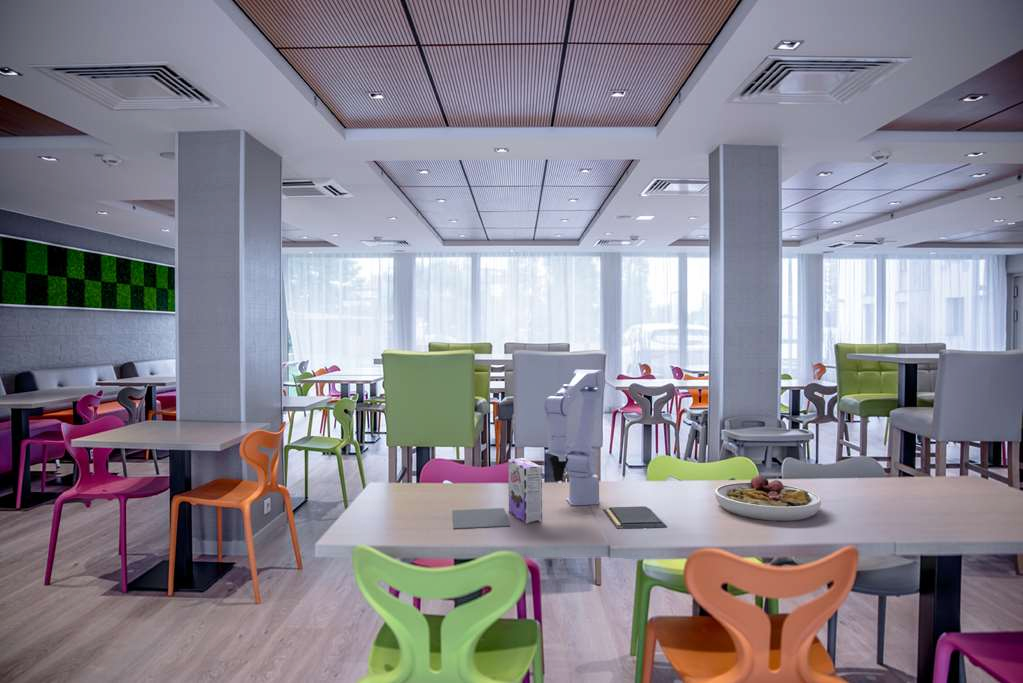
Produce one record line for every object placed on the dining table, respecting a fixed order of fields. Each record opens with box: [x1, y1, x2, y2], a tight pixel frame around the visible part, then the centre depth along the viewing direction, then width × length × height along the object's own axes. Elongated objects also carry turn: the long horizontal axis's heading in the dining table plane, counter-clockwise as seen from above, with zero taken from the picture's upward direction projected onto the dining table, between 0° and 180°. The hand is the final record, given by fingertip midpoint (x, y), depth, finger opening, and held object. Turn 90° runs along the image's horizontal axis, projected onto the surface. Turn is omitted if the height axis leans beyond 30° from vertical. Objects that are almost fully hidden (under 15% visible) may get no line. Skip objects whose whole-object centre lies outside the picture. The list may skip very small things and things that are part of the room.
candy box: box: [507, 457, 543, 524], centre depth 181 cm, size 14×6×16 cm, turn 21°
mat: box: [452, 507, 511, 530], centre depth 179 cm, size 16×18×1 cm
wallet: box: [602, 505, 668, 530], centre depth 178 cm, size 20×2×15 cm
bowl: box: [714, 475, 822, 522], centre depth 186 cm, size 30×30×8 cm
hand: (558, 480), depth 182 cm, fingers closed
